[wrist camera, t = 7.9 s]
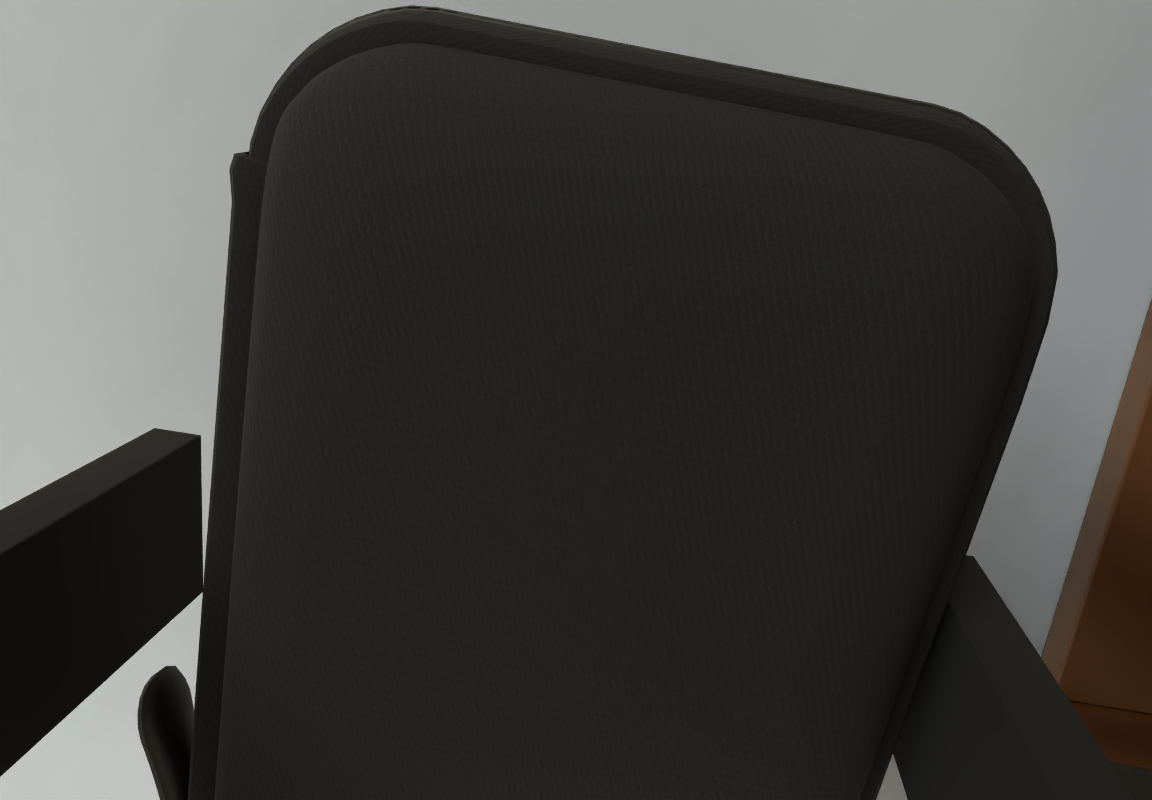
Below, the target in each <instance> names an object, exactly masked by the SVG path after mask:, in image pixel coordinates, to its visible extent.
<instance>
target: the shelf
mask: <svg viewBox="0 0 1152 800" xmlns="http://www.w3.org/2000/svg"><path fill="white" fill-rule="evenodd" d="M1041 659H1042V660H1043V662H1044V663H1045V665H1046V666H1047V668H1048V669H1049V671H1050V672H1051V674H1052V675H1053V677H1054V678H1055V680H1056V681H1057V683H1058V684H1059V686H1060V687H1061V689H1062V690H1063V692H1064V693H1065V695H1066V696H1067V698H1068V699H1069V701H1070V702H1071V704H1072V705H1073V707H1074V708H1075V710H1076V711H1077V713H1078V714H1079V716H1080V717H1081V719H1082V720H1083V722H1084V723H1085V725H1086V726H1087V728H1088V729H1089V731H1090V732H1091V734H1092V735H1093V737H1094V738H1095V740H1096V741H1097V743H1098V744H1099V746H1100V747H1101V749H1102V750H1103V752H1104V753H1105V755H1106V756H1107V758H1108V759H1109V761H1110V762H1114V763H1119V764H1125V765H1131V766H1137V767H1142V768H1148V769H1149V770H1150V771H1151V772H1152V300H1151V303H1150V306H1149V309H1148V313H1147V316H1146V319H1145V322H1144V326H1143V329H1142V332H1141V335H1140V339H1139V342H1138V345H1137V348H1136V352H1135V355H1134V358H1133V361H1132V365H1131V368H1130V371H1129V374H1128V378H1127V381H1126V384H1125V387H1124V391H1123V394H1122V397H1121V400H1120V404H1119V407H1118V410H1117V413H1116V417H1115V420H1114V423H1113V426H1112V430H1111V433H1110V436H1109V439H1108V443H1107V446H1106V449H1105V452H1104V456H1103V459H1102V462H1101V465H1100V469H1099V472H1098V475H1097V478H1096V482H1095V485H1094V488H1093V491H1092V495H1091V498H1090V501H1089V504H1088V508H1087V511H1086V514H1085V517H1084V521H1083V524H1082V527H1081V531H1080V534H1079V537H1078V540H1077V544H1076V547H1075V550H1074V553H1073V557H1072V560H1071V563H1070V566H1069V570H1068V573H1067V576H1066V579H1065V583H1064V586H1063V589H1062V592H1061V596H1060V599H1059V602H1058V605H1057V609H1056V612H1055V615H1054V618H1053V622H1052V625H1051V628H1050V631H1049V635H1048V638H1047V641H1046V644H1045V648H1044V651H1043V654H1042V657H1041Z"/></svg>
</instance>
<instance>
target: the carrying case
mask: <svg viewBox="0 0 1152 800" xmlns="http://www.w3.org/2000/svg"><path fill="white" fill-rule="evenodd" d="M230 182H231V195H232V209H231V222H230V236H229V249H228V263H227V276H226V290H225V303H224V316H223V330H222V343H221V357H220V370H219V384H218V397H217V411H216V424H215V438H214V451H213V464H212V478H211V491H210V505H209V518H208V532H207V545H206V559H205V572H204V585H203V599H202V612H201V626H200V639H199V653H198V666H197V680H196V693H195V707H194V708H193V702H192V697H191V692H190V688H189V686H188V683H187V681H186V679H185V677H184V676H183V675H182V673H181V672H180V671H179V670H178V668H177V667H176V666H166V667H164V668H163V669H161V670H160V671H159V672H157V673H156V674H154V675H153V676H152V677H151V678H150V679H149V681H148V682H147V683H146V685H145V686H144V689H143V691H142V694H141V697H140V700H139V707H138V730H139V735H140V739H141V743H142V745H143V748H144V751H145V754H146V756H147V759H148V762H149V765H150V768H151V771H152V774H153V777H154V780H155V784H156V787H157V790H158V794H159V797H160V800H876V798H877V795H878V793H879V790H880V787H881V784H882V782H883V779H884V776H885V773H886V771H887V768H888V765H889V762H890V760H891V757H892V754H893V751H894V749H895V746H896V743H897V740H898V738H899V735H900V732H901V730H902V727H903V724H904V721H905V719H906V716H907V713H908V710H909V708H910V705H911V702H912V700H913V697H914V694H915V691H916V689H917V686H918V683H919V681H920V678H921V675H922V672H923V670H924V667H925V664H926V662H927V659H928V656H929V653H930V651H931V648H932V645H933V643H934V640H935V637H936V634H937V632H938V629H939V626H940V624H941V621H942V618H943V615H944V613H945V610H946V607H947V605H948V602H949V599H950V596H951V594H952V591H953V588H954V586H955V583H956V580H957V577H958V575H959V572H960V569H961V567H962V564H963V561H964V558H965V556H966V553H967V550H968V548H969V545H970V542H971V539H972V537H973V534H974V531H975V529H976V526H977V523H978V520H979V518H980V515H981V512H982V510H983V507H984V504H985V501H986V499H987V496H988V493H989V491H990V488H991V485H992V482H993V480H994V477H995V474H996V472H997V469H998V466H999V463H1000V461H1001V458H1002V455H1003V453H1004V450H1005V447H1006V444H1007V442H1008V439H1009V436H1010V434H1011V431H1012V428H1013V425H1014V423H1015V420H1016V417H1017V415H1018V412H1019V409H1020V406H1021V404H1022V401H1023V398H1024V395H1025V392H1026V389H1027V386H1028V383H1029V380H1030V377H1031V374H1032V371H1033V367H1034V364H1035V361H1036V358H1037V355H1038V352H1039V349H1040V346H1041V343H1042V340H1043V337H1044V334H1045V331H1046V328H1047V325H1048V321H1049V316H1050V311H1051V306H1052V301H1053V296H1054V291H1055V286H1056V281H1057V273H1058V268H1057V254H1056V242H1055V237H1054V233H1053V228H1052V224H1051V219H1050V215H1049V212H1048V209H1047V207H1046V204H1045V202H1044V199H1043V197H1042V194H1041V192H1040V189H1039V188H1038V186H1037V184H1036V183H1035V181H1034V179H1033V178H1032V176H1031V174H1030V173H1029V171H1028V169H1027V168H1026V166H1025V165H1024V164H1023V163H1022V162H1021V160H1020V159H1019V158H1018V157H1017V156H1016V155H1015V153H1014V152H1013V151H1012V150H1011V149H1010V148H1009V146H1008V145H1006V144H1005V143H1004V142H1003V141H1002V140H1001V139H999V138H998V137H997V136H996V135H995V134H993V133H992V132H991V131H990V130H989V129H988V128H986V127H985V126H983V125H981V124H980V123H978V122H976V121H975V120H973V119H971V118H969V117H968V116H966V115H964V114H962V113H961V112H958V111H955V110H951V109H948V108H945V107H942V106H939V105H936V104H932V103H927V102H921V101H916V100H911V99H906V98H901V97H896V96H891V95H886V94H880V93H875V92H870V91H865V90H860V89H855V88H850V87H844V86H839V85H834V84H829V83H824V82H819V81H814V80H808V79H803V78H798V77H793V76H788V75H783V74H778V73H772V72H767V71H762V70H757V69H752V68H747V67H742V66H736V65H731V64H726V63H721V62H716V61H711V60H706V59H700V58H695V57H690V56H685V55H680V54H675V53H670V52H664V51H659V50H654V49H649V48H644V47H639V46H634V45H628V44H623V43H618V42H613V41H608V40H603V39H598V38H592V37H587V36H582V35H577V34H572V33H567V32H561V31H556V30H551V29H546V28H541V27H536V26H531V25H525V24H520V23H515V22H510V21H505V20H500V19H494V18H489V17H484V16H479V15H474V14H469V13H463V12H458V11H453V10H448V9H443V8H438V7H425V6H412V5H411V6H403V7H396V8H389V9H383V10H380V11H376V12H373V13H370V14H367V15H364V16H360V17H357V18H355V19H353V20H351V21H349V22H347V23H345V24H343V25H341V26H338V27H336V28H334V29H332V30H331V31H329V32H328V33H327V34H325V35H324V36H322V37H321V38H319V39H318V40H317V41H315V42H314V43H312V44H311V45H310V46H309V47H308V48H307V49H306V50H305V51H304V52H303V53H302V54H301V55H299V56H298V57H297V58H296V59H295V60H294V61H293V62H292V63H291V65H290V66H289V67H288V69H287V70H286V71H285V72H284V74H283V75H282V76H281V78H280V79H279V80H278V82H277V83H276V84H275V86H274V88H273V90H272V91H271V93H270V95H269V97H268V99H267V100H266V102H265V104H264V106H263V108H262V109H261V111H260V114H259V117H258V120H257V123H256V126H255V129H254V133H253V136H252V139H251V142H250V150H249V152H243V153H237V154H234V157H233V160H232V163H231V166H230Z"/></svg>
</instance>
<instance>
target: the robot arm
mask: <svg viewBox="0 0 1152 800" xmlns="http://www.w3.org/2000/svg"><path fill="white" fill-rule="evenodd" d="M202 592H203V547H202V485H201V435H194V434H188V433H182V432H175V431H169V430H162V429H156V428H154V429H152V430H151V431H149V432H147V433H145V434H143V435H141V436H139V437H137V438H135V439H134V440H132V441H130V442H128V443H126V444H124V445H122V446H120V447H119V448H117V449H115V450H113V451H111V452H109V453H107V454H105V455H103V456H102V457H100V458H98V459H96V460H94V461H92V462H90V463H88V464H86V465H85V466H83V467H81V468H79V469H77V470H75V471H73V472H71V473H70V474H68V475H66V476H64V477H62V478H60V479H58V480H56V481H54V482H53V483H51V484H49V485H47V486H45V487H43V488H41V489H39V490H38V491H36V492H34V493H32V494H30V495H28V496H26V497H24V498H22V499H21V500H19V501H17V502H15V503H13V504H11V505H9V506H7V507H6V508H4V509H2V510H0V777H1V776H2V775H3V774H4V773H5V772H6V771H7V770H8V769H9V768H10V767H11V766H13V765H14V764H15V763H16V762H17V761H18V760H19V759H20V758H21V757H22V756H23V755H25V754H26V753H27V752H28V751H29V750H30V749H31V748H32V747H33V746H34V745H36V744H37V743H38V742H39V741H40V740H41V739H42V738H43V737H44V736H45V735H46V734H48V733H49V732H50V731H51V730H52V729H53V728H54V727H55V726H56V725H57V724H58V723H60V722H61V721H62V720H63V719H64V718H65V717H66V716H67V715H68V714H69V713H71V712H72V711H73V710H74V709H75V708H76V707H77V706H78V705H79V704H80V703H81V702H83V701H84V700H85V699H86V698H87V697H88V696H89V695H90V694H91V693H92V692H93V691H95V690H96V689H97V688H98V687H99V686H100V685H101V684H102V683H103V682H104V681H106V680H107V679H108V678H109V677H110V676H111V675H112V674H113V673H114V672H115V671H116V670H118V669H119V668H120V667H121V666H122V665H123V664H124V663H125V662H126V661H127V660H128V659H130V658H131V657H132V656H133V655H134V654H135V653H136V652H137V651H138V650H139V649H141V648H142V647H143V646H144V645H145V644H146V643H147V642H148V641H149V640H150V639H151V638H153V637H154V636H155V635H156V634H157V633H158V632H159V631H160V630H161V629H162V628H163V627H165V626H166V625H167V624H168V623H169V622H170V621H171V620H172V619H173V618H174V617H176V616H177V615H178V614H179V613H180V612H181V611H182V610H183V609H184V608H185V607H186V606H188V605H189V604H190V603H191V602H192V601H193V600H194V599H195V598H196V597H197V596H198V595H200V594H201V593H202ZM893 755H894V758H895V761H896V764H897V767H898V770H899V774H900V777H901V780H902V783H903V786H904V789H905V792H906V795H907V799H908V800H1152V772H1151V771H1150V770H1149V769H1148V768H1142V767H1137V766H1131V765H1125V764H1119V763H1114V762H1110V761H1109V759H1108V758H1107V756H1106V755H1105V753H1104V752H1103V750H1102V749H1101V747H1100V746H1099V744H1098V743H1097V741H1096V740H1095V738H1094V737H1093V735H1092V734H1091V732H1090V731H1089V729H1088V728H1087V726H1086V725H1085V723H1084V722H1083V720H1082V719H1081V717H1080V716H1079V714H1078V713H1077V711H1076V710H1075V708H1074V707H1073V705H1072V704H1071V702H1070V701H1069V699H1068V698H1067V696H1066V695H1065V693H1064V692H1063V690H1062V689H1061V687H1060V686H1059V684H1058V683H1057V681H1056V680H1055V678H1054V677H1053V675H1052V674H1051V672H1050V671H1049V669H1048V668H1047V666H1046V665H1045V663H1044V662H1043V660H1042V659H1041V657H1040V656H1039V654H1038V653H1037V651H1036V650H1035V648H1034V647H1033V645H1032V644H1031V642H1030V641H1029V639H1028V638H1027V636H1026V635H1025V633H1024V632H1023V630H1022V629H1021V627H1020V626H1019V624H1018V623H1017V621H1016V620H1015V618H1014V617H1013V615H1012V614H1011V612H1010V611H1009V609H1008V608H1007V606H1006V605H1005V603H1004V602H1003V600H1002V599H1001V597H1000V596H999V594H998V593H997V591H996V590H995V588H994V587H993V585H992V584H991V582H990V581H989V579H988V578H987V576H986V575H985V573H984V572H983V570H982V569H981V567H980V566H979V564H978V563H977V561H976V560H975V558H974V557H973V556H965V558H964V561H963V564H962V567H961V569H960V572H959V575H958V577H957V580H956V583H955V586H954V588H953V591H952V594H951V596H950V599H949V602H948V605H947V607H946V610H945V613H944V615H943V618H942V621H941V624H940V626H939V629H938V632H937V634H936V637H935V640H934V643H933V645H932V648H931V651H930V653H929V656H928V659H927V662H926V664H925V667H924V670H923V672H922V675H921V678H920V681H919V683H918V686H917V689H916V691H915V694H914V697H913V700H912V702H911V705H910V708H909V710H908V713H907V716H906V719H905V721H904V724H903V727H902V730H901V732H900V735H899V738H898V740H897V743H896V746H895V749H894V751H893Z"/></svg>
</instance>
